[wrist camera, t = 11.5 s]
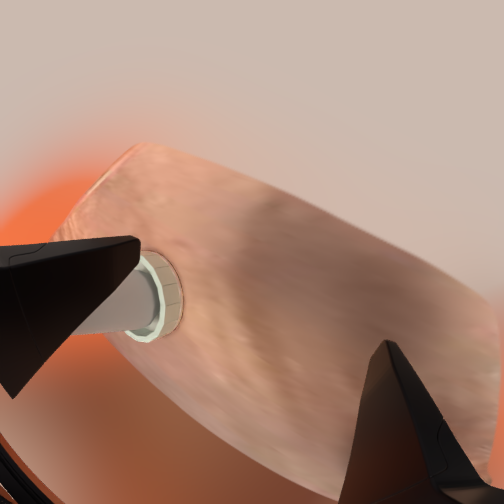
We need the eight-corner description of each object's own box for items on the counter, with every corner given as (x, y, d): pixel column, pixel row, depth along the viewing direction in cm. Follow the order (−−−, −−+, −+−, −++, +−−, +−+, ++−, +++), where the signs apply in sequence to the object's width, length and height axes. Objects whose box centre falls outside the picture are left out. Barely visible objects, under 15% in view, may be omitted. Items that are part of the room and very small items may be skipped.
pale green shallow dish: (191, 337, 24) (173, 345, 22) (134, 333, 28) (118, 338, 26) (174, 244, 24) (155, 245, 22) (121, 257, 28) (103, 259, 26)
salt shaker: (129, 269, 27) (17, 283, 15) (165, 262, 24) (33, 277, 13) (139, 322, 27) (32, 353, 15) (176, 323, 24) (53, 366, 13)
